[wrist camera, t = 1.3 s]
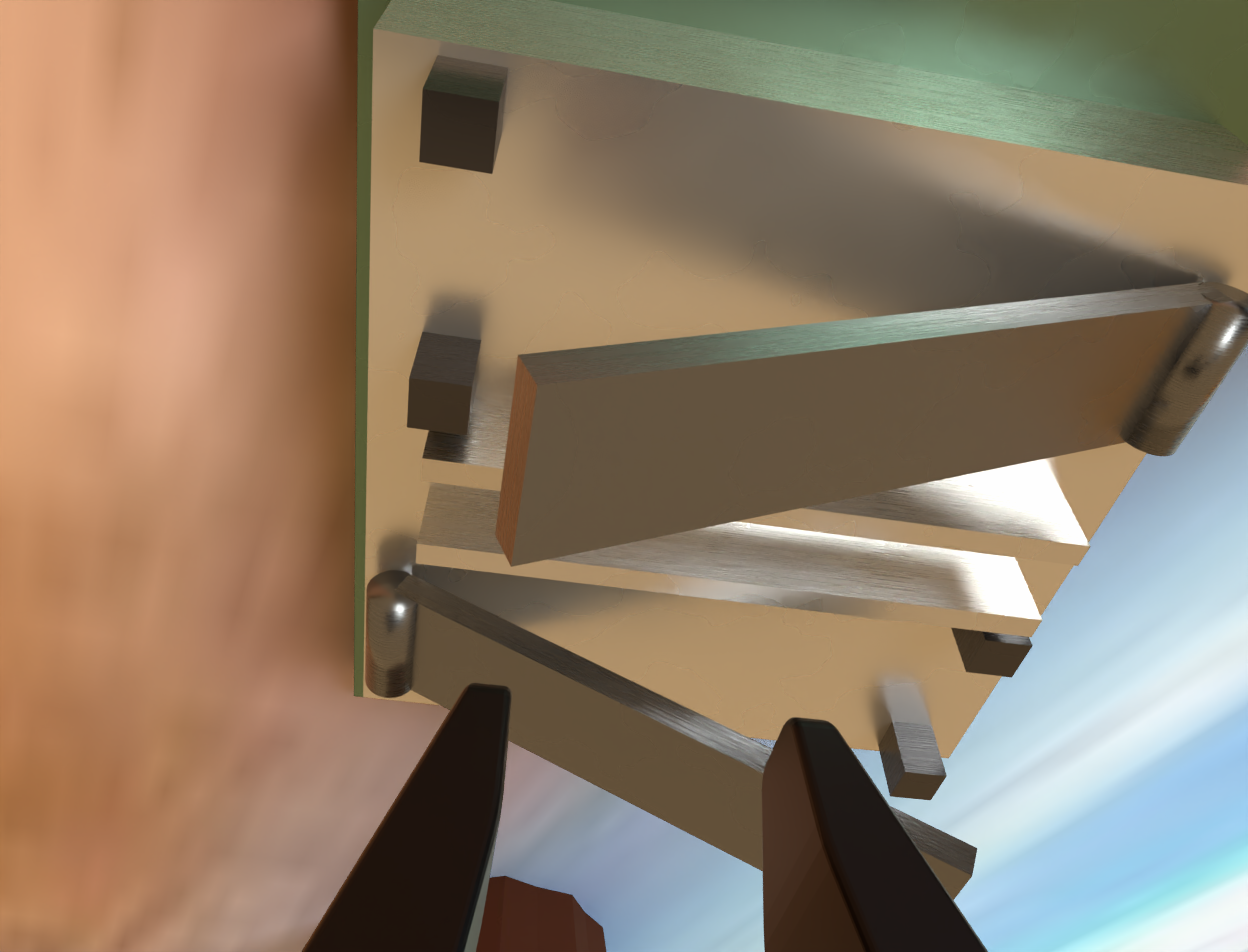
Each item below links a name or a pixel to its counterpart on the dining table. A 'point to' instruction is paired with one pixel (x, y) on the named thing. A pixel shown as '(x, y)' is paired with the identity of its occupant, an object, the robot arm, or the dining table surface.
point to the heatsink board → (767, 303)
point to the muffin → (535, 921)
